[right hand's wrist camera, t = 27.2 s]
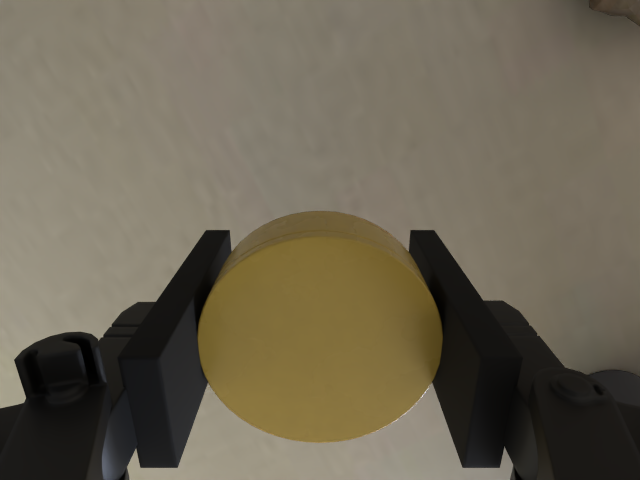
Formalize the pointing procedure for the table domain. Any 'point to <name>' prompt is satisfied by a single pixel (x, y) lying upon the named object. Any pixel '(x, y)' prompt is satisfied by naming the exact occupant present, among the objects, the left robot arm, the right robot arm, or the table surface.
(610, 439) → the right robot arm
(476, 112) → the table surface
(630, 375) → the jar
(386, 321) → the lid
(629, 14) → the stone
